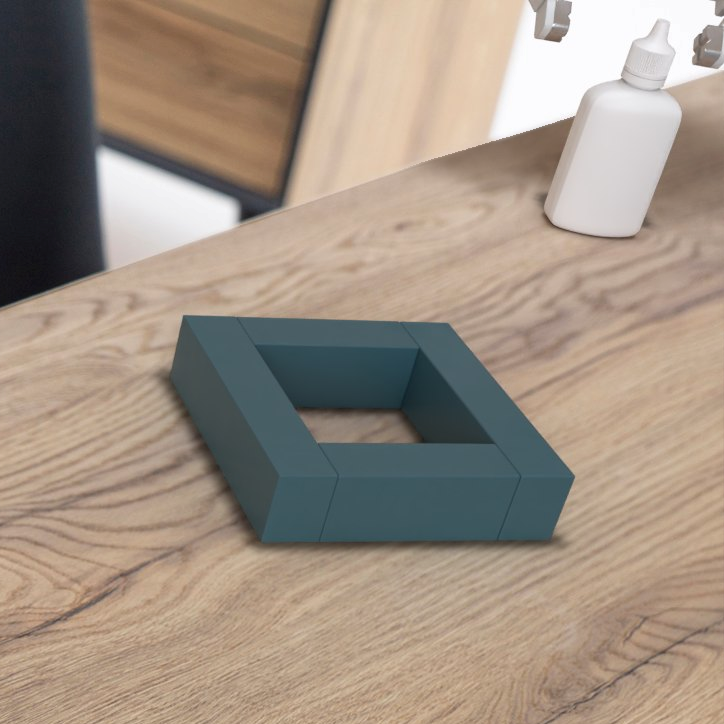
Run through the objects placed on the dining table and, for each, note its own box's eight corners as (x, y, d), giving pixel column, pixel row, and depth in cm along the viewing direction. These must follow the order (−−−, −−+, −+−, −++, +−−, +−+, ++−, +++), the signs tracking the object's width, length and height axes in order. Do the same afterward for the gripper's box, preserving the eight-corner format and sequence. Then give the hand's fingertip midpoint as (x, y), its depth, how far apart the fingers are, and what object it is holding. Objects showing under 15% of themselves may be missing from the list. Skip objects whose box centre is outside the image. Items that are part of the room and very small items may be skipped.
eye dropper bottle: (551, 199, 105) (621, -2, 98) (642, 228, 103) (720, 26, 96) (534, 221, 102) (606, 15, 94) (627, 252, 100) (707, 44, 93)
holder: (423, 397, 82) (448, 321, 80) (544, 557, 73) (576, 476, 70) (165, 394, 79) (182, 314, 76) (256, 560, 69) (279, 475, 67)
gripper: (795, -114, 105) (777, 102, 103) (466, -171, 103) (443, 47, 102) (852, -176, 98) (834, 53, 97) (503, -238, 97) (478, -7, 95)
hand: (630, 49), depth 99 cm, fingers open, 8 cm apart
